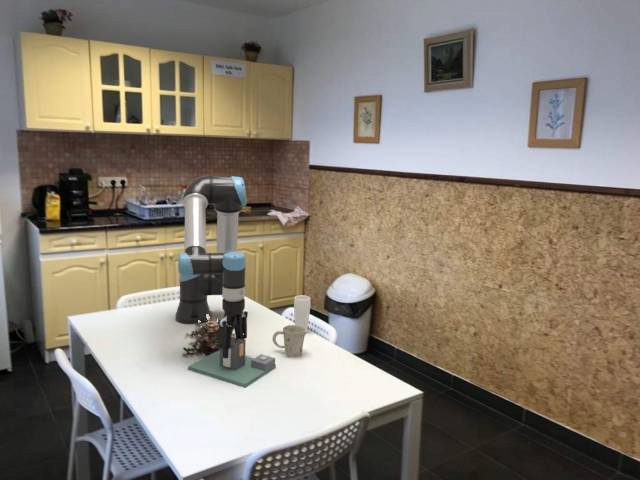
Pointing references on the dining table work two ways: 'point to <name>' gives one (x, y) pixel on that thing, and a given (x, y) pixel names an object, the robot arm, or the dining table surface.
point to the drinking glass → (302, 311)
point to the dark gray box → (235, 353)
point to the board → (241, 376)
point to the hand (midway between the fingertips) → (232, 362)
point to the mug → (291, 339)
